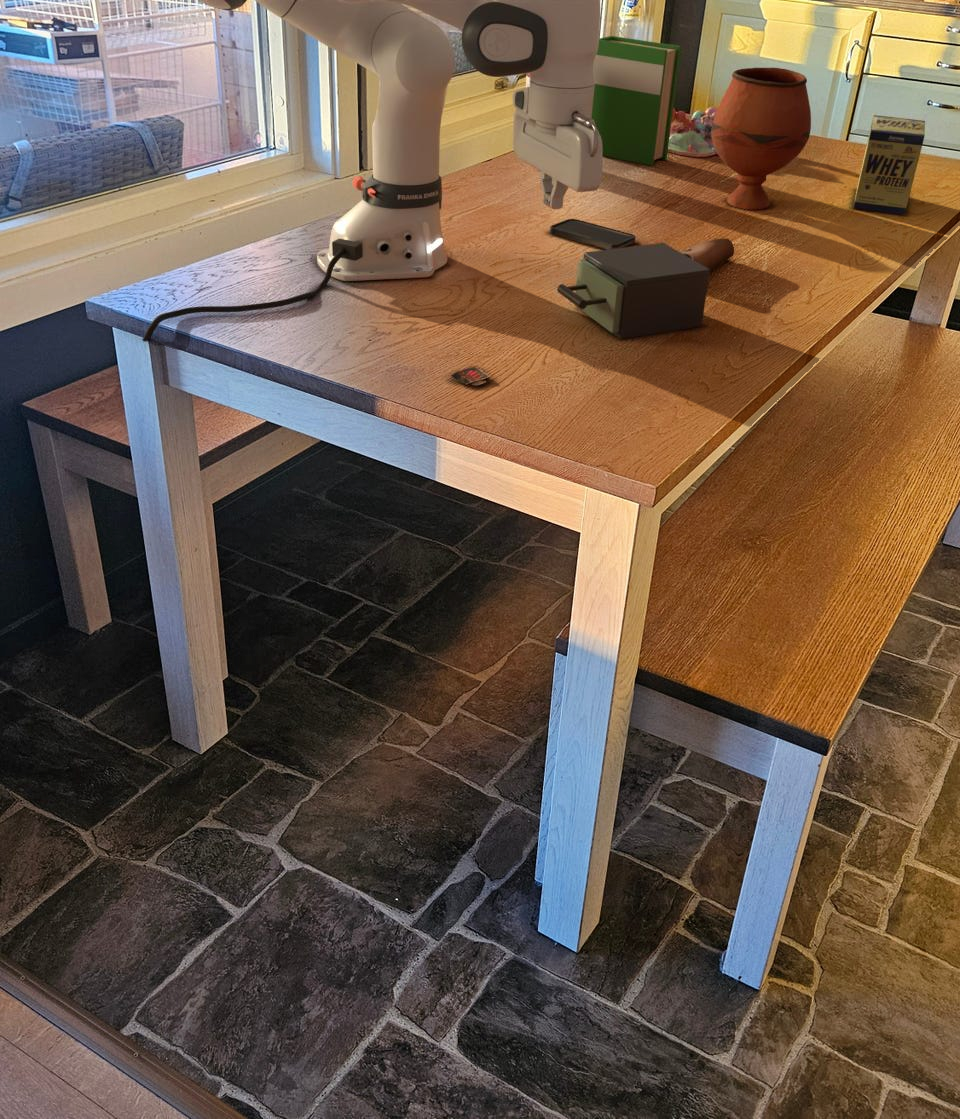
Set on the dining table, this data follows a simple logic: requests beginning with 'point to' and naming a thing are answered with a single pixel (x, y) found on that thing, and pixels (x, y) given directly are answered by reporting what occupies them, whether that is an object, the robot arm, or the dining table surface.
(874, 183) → the protein box
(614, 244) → the phone
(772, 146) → the goblet
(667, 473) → the dining table surface
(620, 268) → the black storage box
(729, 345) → the dining table surface
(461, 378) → the matchbox
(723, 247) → the sunglasses case
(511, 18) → the robot arm
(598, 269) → the drawer
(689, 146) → the candy landscape model
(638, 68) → the hardback book
